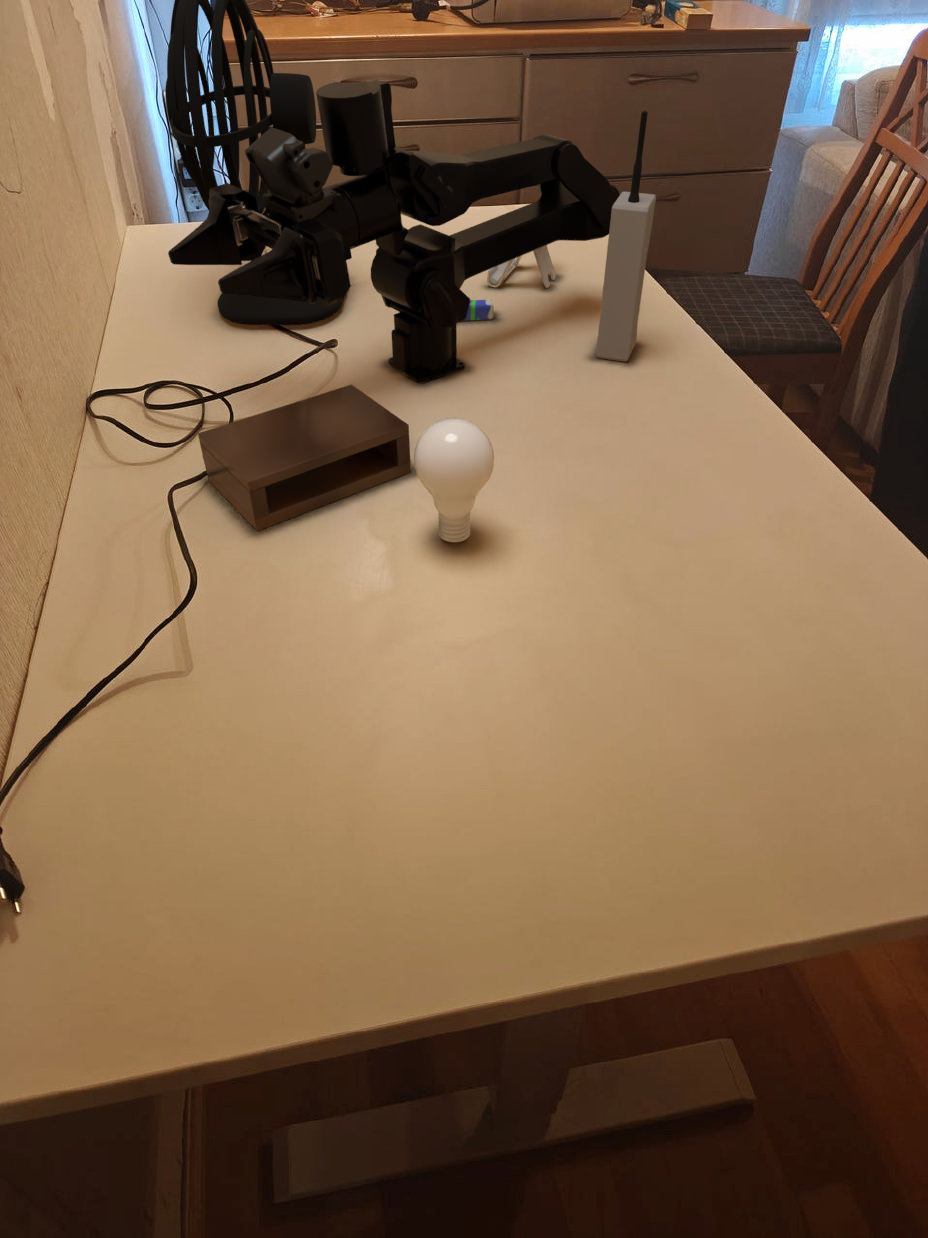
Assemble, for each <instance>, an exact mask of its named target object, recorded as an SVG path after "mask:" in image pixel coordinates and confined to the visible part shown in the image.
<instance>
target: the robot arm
mask: <svg viewBox="0 0 928 1238" xmlns="http://www.w3.org/2000/svg"><path fill="white" fill-rule="evenodd" d="M315 95H316V100H317V108H318V112H319V119H320V125H321V131H322V136H323V142H324V143H323V144H324V149H325V150H324V149H323V150H322V149H319V148H317V147H310V148H309V147H308V148H306V149H303V147H304V146H305V147H306V144H305V145H304V143H303V142H302V141H300V140H297V139H296V138H295V137H294V136H293V135H292V134H290V133H287V132H284V131H281V130H278V129H275V128H273V127H269V130H268V131H266V132H265V133H264V134H263V135H262V136H261V135H260V136H258V139H257V140H256V141H255V142H254V143H253V144H251V145H250V146H249V145H248V147H246V148H245V149H244V155H245V157H246V159H247V161H248V162H249V164H250V163H252V164H253V165H254V167H255V168H256V170H257V172H258V174H259V178H260V180H261V179H262V181H263V182H264V184H265V186H266V188H267V189H268V193H266V194H263V195H262V196H263V201H264V205H265V208H264V209H267V210H268V212H269V214H268V215H266V216H264V215H262V214H263V213H262V214H260V213H259V210H258V206H257V201H256V198H255V197H254V196H252V195H251V194H249V191H246V190H245V189H243V188H242V189H240V188H238V187H236V186H233V185H231V184H230V182H226V183H222V184H220V185H218V186H216V187H213V188H210V192H209V195H210V198H209V207H210V210H208V213H207V217H206V218H205V219H204V221H203V222H201V223H200V224H199V225H198V226H197V227H196V228H194V230H193V231H191V232H190V233H189V234H188V235H187V236H185V237H184V238H183V239H181V240H180V241H179V242H178V243H176V245H174V246H173V247H172V248H170V250H169V251H168V253H167V255H168V259H169V261H170V263H171V264H172V265H177V266H178V265H181V266H240V267H237V268H236V269H233V270H232V271H230V272H229V273H227V274H226V275H223V276H222V277H220V278H219V279H218V281H217V284H218V288H219V291H220V292H221V293H224V294H233V295H245V296H256V297H266V298H277V299H285V300H294V301H302V302H308V303H310V304H314V303H316V302H319V303H321V304H323V305H324V306H326V307H327V306H330V305H332V304H335V303H337V302H339V301H342V300H344V301H345V298H346V297H347V294H348V293H349V291H350V288H351V281H350V275H349V268H348V263H347V261H348V260H351V259H353V258H352V257H353V255H352V251H351V250H353V249H356V248H358V247H361V246H363V245H366V244H368V243H370V242H373V241H375V245H376V246H377V248H376V250H375V255H374V256H373V259H372V262H371V266H370V280H371V284H372V286H373V288H374V290H375V291H376V293H378V294H380V295H381V299H382V300H383V303H384V306H385V307H387V308H389V309H390V308H391V309H393V310H395V311H397V313H395V314H393V326H394V328H393V329H392V330H391V333H390V334H391V349H392V350H391V351H392V357H389V358H388V364H389V365H390V366H392V367H393V368H395V369H396V370H398V371H400V372H401V373H403V374H404V375H406V376H407V377H409V378H410V379H412V380H413V381H415V382H417V383H425V382H428V381H431V380H434V379H438V378H439V377H443V376H446V375H449V374H452V373H455V372H458V371H461V370H464V369H465V368H466V363H465V362H464V361H462V360H460V359H459V358H457V355H458V351H457V349H458V348H457V347H458V343H457V341H458V340H457V339H458V337H457V334H458V331H457V327H458V323H459V322H462V321H466V320H465V319H466V316H467V313H468V309H469V305H470V300H471V298H470V297H469V296H467V294H466V293H465V292H463V290H462V289H461V288H462V287H463V284H464V282H465V281H466V280H468V279H470V278H472V277H475V276H477V275H479V274H482V273H484V272H486V271H487V272H488V271H489V269H491V268H494V267H496V266H498V265H501V264H503V263H506V262H508V261H510V260H513V259H516V258H517V257H520V256H522V257H523V256H524V255H527V254H529V253H531V252H533V251H534V250H536V249H539V248H541V247H543V246H546V245H547V246H548V245H551V244H553V243H555V242H559V241H568V242H569V241H570V242H573V241H575V242H576V241H577V242H587V241H593V240H598V239H603V238H605V237H607V236H609V230H610V221H611V211H612V207H613V204H614V203H615V202H616V200H617V199H618V197H619V196H620V195H621V193H620V191H619V189H618V188H617V186H616V185H613V184H611V183H610V181H609V180H608V179H607V177H606V176H605V175H603V174H602V173H601V172H600V171H599V170H598V169H597V168H596V167H595V166H593V164H592V163H590V162H589V161H588V160H587V159H586V158H585V156H584V155H583V153H582V151H581V150H580V149H579V147H578V146H577V145H576V144H575V143H574V142H573V141H571V140H569V139H566V138H563V137H562V138H561V137H559V136H555V135H551V134H545V133H542V134H540V135H537V136H535V137H533V138H530V139H526V140H521V141H518V142H513V143H508V144H503V145H498V146H493V147H489V148H485V149H480V150H475V151H471V152H466V153H461V154H450V153H444V152H434V151H426V150H425V151H424V150H406V149H404V148H399V147H398V146H396V137H395V129H394V119H393V110H392V107H393V106H392V105H393V95H392V86H391V84H390V83H389V82H386V81H383V80H379V79H374V80H371V81H351V82H339V81H334V82H331V83H327V84H324V85H322V86H320V87H319V88H317V89H316V91H315ZM334 166H335V167H339V172H340V174H341V175H343V176H347V177H350V178H348V179H345V180H342V181H339V182H337V183H334V184H330V185H328V186H325V185H326V183H327V181H328V178H329V177H330V174H331V172H332V170H333V167H334ZM324 186H325V187H324ZM534 186H537V187H536V188H537V192H538V193H539V195H540V196H539V198H538V199H537V200H536V201H534V202H532V203H531V202H530V203H529V204H526V205H524V206H521V207H518V208H516V209H513V210H511V211H508V212H506V213H503V214H501V215H498V216H496V217H493V218H490V219H488V220H485V221H482V222H480V223H478V224H475V225H472V226H470V227H467V228H465V229H462V230H460V231H457V232H455V233H452V234H450V235H448V234H446V233H445V232H444V233H443V232H441V231H439V230H437V229H433V228H431V227H440V226H442V225H445V224H446V223H449V222H451V221H453V220H455V219H456V218H459V217H460V216H462V215H464V214H466V213H467V212H468V210H469V208H470V207H471V206H472V205H473V204H474V203H476V202H478V201H480V200H482V199H486V198H491V197H495V196H498V195H502V194H507V193H510V192H515V191H518V190H522V189H525V188H530V187H534ZM402 216H405V217H407V218H410V219H412V220H416V221H418V222H420V223H423V224H425V225H426V226H425V225H423V224H417V225H414V226H411V227H410V228H406V227H404V225H403V222H402V221H403V220H402ZM427 225H428V226H429V227H428V226H427ZM430 226H431V227H430ZM266 247H267V248H269V249H270V250H269V251H267V252H265V253H264V251H265V250H266ZM243 262H247V263H245V264H243Z"/></svg>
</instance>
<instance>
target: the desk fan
mask: <svg viewBox="0 0 928 1238" xmlns="http://www.w3.org/2000/svg"><path fill="white" fill-rule="evenodd" d="M200 8H201V11H202V12H203V14H204V16H205V18H206V20H207V23H208V25H209V27H210V31H211V73H212V87H213V90H211V91H210V86H209V82H208V77H207V72H206V69H205V65H204V62H203V58H202V55H201V53H200V50H199V48H198V47H199V46H198V45H199V44H198V39H199V37H198V36H199V35H198V34H199V33H198V30H199V29H198V27H199V26H198V25H199V10H200ZM226 14H227V17H228V20H229V24H230V27H231V31H232V36H233V39H234V44H235V48H236V52H237V57H238V63H239V67H240V73H241V74H240V75H241V79H242V85H236V86H235V85H234V83H233V76H232V71H231V66H230V62H229V56H228V52H227V48H226V44H225V39H224V37H223V33H224V23H225V22H224V21H225V16H226ZM169 35H170V36H169V41H168V47H167V56H166V57H167V58H166V81H165V107H166V113H167V118H168V122H169V126H170V130H171V135H172V137H173V139H174V140H175V142H176V144H177V148H178V151H179V154H180V158H181V160H182V163H183V166H184V168H185V170H186V172H187V174H188V176H189V178H190V179H191V180H192V182H194V183H195V186H196V188H197V192H198V194H199V197H200V199H201V201H202V202H203V204H204V207H206V209H207V211H209V210H210V207H209V198H210V195H209V192H210V188H213V187H216V186H219V185H218V182H217V181H218V180H217V178H216V174H215V171H214V167H215V166H214V164H215V153H216V151H215V149H216V147H217V148H218V147H221V151H222V157H223V160H224V165H225V169H226V173H227V176H228V181H229V184H231V185H233V186H236V187H238V188H240V189H242V190H243V187H242V184H241V181H240V142H242V141H245V140H248V147H249V146H250V145H251V144H253V143H254V142H255V141H256V140H257V139H258V138H259V135H260V137H261V136H262V135H263V134H264V133H265V132H266V131H268V130H269V129H270V128H271V127H272V128H275V129H278V130H281V131H284V132H287V133H290V134H292V135H293V136H294V137H295V138H296V139H297V140H300V141H302V142H303V143H304V145H305V146H304V147H303V149H307V147H306V145H311V144H314V143H315V142H316V138H317V109H316V99H315V97H316V96H315V90H314V86H313V81H312V79H311V77H310V76H309V75H307V74H303V73H290V72H288V73H287V72H274V67H273V66H274V65H273V62H272V57H271V54H270V50H269V46H268V44H267V41H266V38H265V36H264V33H263V32H262V31H261V30H260V29H259V28H258V25H257V23H256V20H255V18H254V15H253V13H252V11H251V9H250V7H249V4H248V3H247V1H246V0H215V3H214V8H213V6H212V4H211V2H210V0H174V2H173V7H172V13H171V19H170V34H169ZM259 51H260V52H259ZM260 54H261V57H262V62H263V65H264V69H265V73H266V77H267V82H268V87H267V86H265V81H264V74H263V68H262V63H261V57H260ZM251 66H252V67H251ZM252 69H253V75H254V76H253V75H252ZM253 77H254V81H253ZM200 81H201V82H200ZM254 82H255V85H254ZM200 83H201V84H200ZM201 86H202V91H203V94H202V93H201ZM236 96H244V101H245V102H244V103H245V112H246V113H245V114H246V120H247V126H246V127H244V128H241V129H239V121H238V111H237V103H236ZM255 96H257V105H258V115H259V121H258V115H257V105H256V97H255ZM267 98H269V107H270V114H268V107H267V106H268V104H267ZM225 99H226V101H225ZM212 102H214V107H215V108H214V109H215V115H216V122H217V123H216V124H217V129H218V130H217V131H218V134H215V124H214V123H215V121H214V112H213V105H212ZM226 104H227V108H226ZM204 105H205V110H206V118H207V131H208V133H207V131H206V124H205V116H204V111H203V106H204ZM227 113H228V116H227ZM228 122H229V124H228ZM207 134H208V135H207ZM248 179H249V180H248V181H249V182H248V193H249V194H251V195H252V196H254V197H255V198H256V201H257V206H258V210H259V213H260V214H262V215H264V216H266V215H269V212H268V210H267V209H266V208H265V205H264V201H263V196H262V195H263V194H266V193H269V190H268V189H267V188H266V186H265V184H264V182H263V181H262V179H261V178H260V175H259V174H258V172H257V170H256V168H255V167H254V165H253V164H252V163H250V162H249V178H248ZM344 302H345V299H344V300H342V301H339V302H337V303H335V304H332V305H330V306H327V307H326V306H324V305H323V304H321V303H319V302H316V303H314V304H310V303H308V302H302V301H294V300H285V299H277V298H266V297H256V296H245V295H233V294H224V293H222V292H221V293H220V295H219V296H218V299H217V303H216V304H217V310H218V313H219V315H220V316H221V317H222V318H223V319H225V321H228V322H231V323H233V324H236V325H237V324H238V325H244V326H304V325H305V326H306V325H311V324H315V323H320V322H322V321H325V320H327V319H329V318H331V317H332V316H334V315H336V314H337V313H338V312H339V311H340V310H341V309H342V306H343V304H344Z"/></svg>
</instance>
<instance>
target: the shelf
mask: <svg viewBox="0 0 928 1238" xmlns="http://www.w3.org/2000/svg"><path fill="white" fill-rule="evenodd" d="M197 437H198V440H199V446H200V449H201V454H202V455H201V456H202V459H203V463H204V468H205V472H206V476H207V480H208V482H209V483H210V484H211V485H212V486H213V487H214V488H215V489H216V490H217V491H218V492H219V493H220V494H221V496H222V497H224V498H225V499H226V500H227V502H229V504H230V505H231V506H232V507H233V508H234V509H235V510H236V511H237V512H238V513H239V514H240V515H241V516H242V517H243V518H244V519H245V520H246V521H247V522H248V523H249V524H250V525H251V526H252V527H253V529H255V531H256V532H259V531H261V530H264V529H266V528H267V529H268V528H269V527H271V526H275V525H277V524H280V523H283V522H285V521H288V520H290V519H292V518H295V517H299V516H301V515H303V514H305V513H308V512H311V511H314V510H316V509H318V508H321V507H324V506H326V505H329V504H332V503H335V502H337V501H340V500H342V499H345V498H347V497H349V496H352V495H356V494H358V493H360V492H363V491H365V490H368V489H371V488H373V487H376V486H378V485H382V484H383V483H387V482H389V481H391V480H394V479H396V478H399V477H402V476H405V475H408V474H410V473H411V472H412V468H411V445H410V424H408V423H407V422H405V421H404V420H403V419H401V418H399V417H398V416H397V415H395V414H394V413H392V412H391V411H390V410H388V409H387V408H385V407H384V406H383V405H381V404H380V403H379V402H377V401H376V400H374V399H373V398H371V397H370V396H369V395H367V394H366V393H365V392H363V391H362V390H360V389H359V388H358V387H356V386H355V385H353V384H348V385H345V386H342V387H337V388H335V389H331V390H329V391H326V392H323V393H320V394H316V395H314V396H310V397H307V398H304V399H301V400H298V401H295V402H291V403H288V404H285V405H282V406H279V407H276V408H272V409H270V410H266V411H263V412H260V413H257V414H254V415H250V416H248V417H245V418H242V419H238V420H235V421H232V422H229V423H226V424H223V425H220V426H216V427H213V428H210V429H207V430H204V431H201V432H198V433H197Z"/></svg>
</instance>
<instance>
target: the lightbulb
mask: <svg viewBox="0 0 928 1238" xmlns="http://www.w3.org/2000/svg"><path fill="white" fill-rule="evenodd" d="M413 465H414V470H415V473H416V475H417V478H418V480H419V482H420V483H421V484H422V486H423V487H424V488H425V489H426V491H427V492H428V493H429V494H430V495H431V497H432V500H433V504H434V507H435V510H436V511H437V516H438V535H439V537H440V538H441V539H442V540H444V542H445V541H446V542H448V543H460V542H463V541H465V540H467V539H468V538H470V536H471V514H472V510H473V509H474V506H475V502H476V498H477V496H478V494H479V493H480V492H481V491H482V490H483V488H484V487H485V486H486V485H487V484H488V481H489V480H490V478H491V476H492V474H493V470H494V466H495V453H494V448H493V444H492V442H491V440H490V437H488V434H486V432H485V431H484V430H483V429H482V428H481V427H480V426H479V425H478V424H476V423H474V422H472V421H471V420H468V419H465V418H459V417H449V418H448V417H447V418H444V419H441V420H438V421H435V422H434V423H432V424H431V425H429V426H428V427H427V428H426V429H425V430H424V431H423V432H422V434H421V435H420V437H419V438H418V440H417V442H416V444H415V448H414V452H413Z"/></svg>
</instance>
